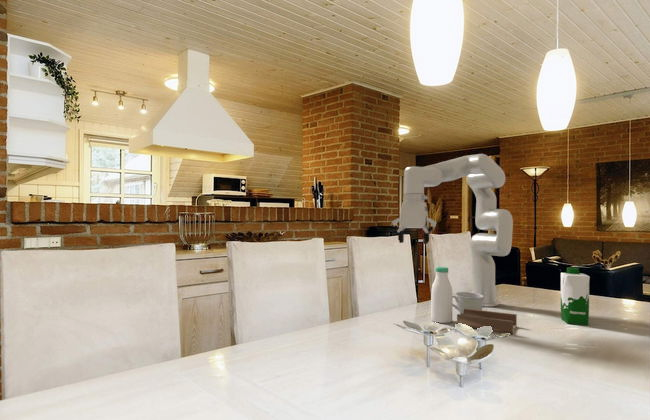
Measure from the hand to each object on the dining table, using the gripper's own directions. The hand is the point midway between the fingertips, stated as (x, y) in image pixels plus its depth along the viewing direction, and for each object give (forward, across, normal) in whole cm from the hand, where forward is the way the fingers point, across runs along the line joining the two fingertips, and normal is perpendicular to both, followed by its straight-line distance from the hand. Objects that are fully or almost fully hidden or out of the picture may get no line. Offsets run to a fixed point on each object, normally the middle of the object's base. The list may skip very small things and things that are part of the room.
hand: (413, 243), depth 164 cm
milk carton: (+29, -54, -24) cm, 66 cm away
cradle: (+28, -27, 0) cm, 39 cm away
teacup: (+29, -16, -17) cm, 37 cm away
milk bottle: (+29, -11, 0) cm, 31 cm away
